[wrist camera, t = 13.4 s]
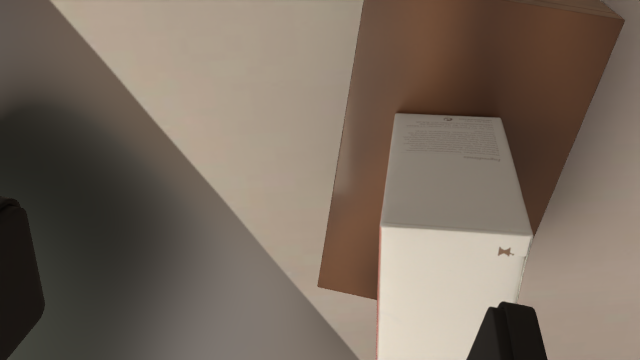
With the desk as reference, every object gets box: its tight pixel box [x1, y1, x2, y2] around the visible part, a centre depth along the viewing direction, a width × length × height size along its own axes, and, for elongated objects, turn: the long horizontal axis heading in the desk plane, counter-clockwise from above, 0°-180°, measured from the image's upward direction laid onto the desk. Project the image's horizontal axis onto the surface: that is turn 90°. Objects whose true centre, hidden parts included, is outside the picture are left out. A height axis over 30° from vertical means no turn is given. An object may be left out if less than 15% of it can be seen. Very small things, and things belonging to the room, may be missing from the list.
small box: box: [376, 113, 534, 360], centre depth 26 cm, size 8×6×10 cm
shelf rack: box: [318, 0, 625, 300], centre depth 35 cm, size 12×20×11 cm, turn 173°
